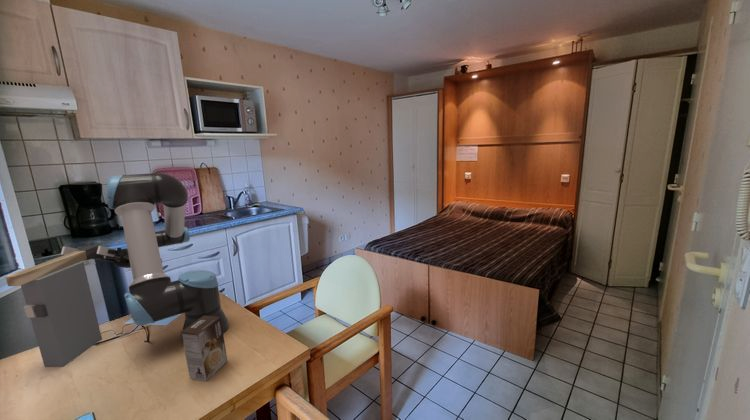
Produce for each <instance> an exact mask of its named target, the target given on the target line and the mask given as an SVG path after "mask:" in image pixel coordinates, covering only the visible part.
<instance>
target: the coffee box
mask: <svg viewBox="0 0 750 420" xmlns="http://www.w3.org/2000/svg"><path fill="white" fill-rule="evenodd" d="M182 330H183V329H182ZM180 335H181V339H182V343H183V349H184V355H185V360H186V364H187V371H188V375H189V379H192V380H199V381H202V382H209V380H210V378H212V377H213V376H214V375H215V374H216V372H218V371H219V370H220V369H221V368H222V366H224V365H225V364H226V363H227V362H228V357H227V351H226V350H227V349H226V343H225V337H224V333H223V329H222V323H221V317H215V316H205V315H204V316H202V317H201V318H200V319H198V320H197V321H195V322H194V323H193V324H191V325H190V326H188V327H187V328H186V329H184V330H183V331H180Z"/></svg>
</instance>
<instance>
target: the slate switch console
mask: <svg viewBox="0 0 750 420" xmlns="http://www.w3.org/2000/svg"><path fill="white" fill-rule="evenodd" d="M20 288H21V291H22V294H23V297H24V302H25V305H24V306H23V310H24V313H25V315H26V318H30V322H31V325H32V328H33V332H34V335H35V339H36V342H37V345H38V348H39V349H38V350H39V352H40V355H41V358H42V363H43V365H44V367H45V368H49V367H50V368H52V367H53V368H58V367H59V368H62V367H63V368H64V367H65V366H66V365H68V364H69V363H70V362H72V361H73V360H74V359H76V358H78V357H80V355H82V354H83V353H85V352H86V351H88V350H89V349H91V348H92V347H94V346H95V344H97V343H98V342H100V341H102V339H103V338H102V333H101V329H100V325H99V320H98V316H97V313H96V309H95V304H94V300H93V296H92V292H91V288H90V283H89V279H88V275H87V272H86V268H85V263H84V261H80V262H78V263H75V264H73V265H70V266H68V267H65V268H63V269H60V270H58V271H55V272H53V273H50V274H48V275H45V276H43V277H40V278H38V279H35V280H33V281H30V282H28V283H25V284H23V285H20ZM77 356H78V357H77Z"/></svg>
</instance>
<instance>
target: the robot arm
mask: <svg viewBox="0 0 750 420" xmlns="http://www.w3.org/2000/svg"><path fill="white" fill-rule="evenodd" d="M106 181H107V182H106V197H107V198H106V200H107V207H108V208H109V209H110V210H114V214H116V215H119V216H120V217H121V222H122V227H123V232H124V238H125V242H126V243H125V244H126V248H122V247H116V248H117V249H116V248H112V247H107V246H103V245H99V246H98V250H97V254H100V255H97V256H95V257H92V258H90V259H89V260H97V261H104V262H105V261H106V262H107V261H108V262H112V263H113V264H114V266H116V267H117V268H118V267H119V268H123V269H130V271H131V275H132V282H131V283H130V284H129V286H128V291H127V292H126V293H124V296H123V297H124V299H125V302H126V305H127V308H128V311H129V313H130V315H131V318H132V322H133V323H134V324H135V325H136V326H138V327H139V326H146V325H149V324H154V323H156V322H158V321H162V320H166V319H168V318H171V317H172V318H173V317H174V316H178V315H181V314H184V322H183V327H182V331H183V330H184V329H186V328H187V327H188V326H190V325H191V324H193V323H194V322H195V321H197V320H198V319H200V318H201V317H202V316H204V315H205V316H215V317H221V323H222V329H223V334H224V333H225V332H227V330H228V329H229V319H228V317H227V316H226V314H225V312H224V310H223V308H222V306H221V300H220V299H221V298H220V292H219V291H220V290H219V283H218V278H217V275H216V274H215V273H214V272H213V271H210V270H206V269H204V270H203V269H202V270H201V269H200V270H199V269H197V270H189V271H186V272H184V273H181V274H180V275H179V276H178V278H177V279H178V280H174V281H172V280H171V277H170V275H168V274H165V271H164V268H163V259H162V257H161V253H160V248H162V247H167V246H174V245H178V244H183V243H187V242H190V238H191V237H190V231H189V228H188V227H187V226H185V223H186V221H185V218H186V217H185V215H186V209H185V208H186V204H187V203H188V201H189V192H188V190H187V187H186V186H185V185H184V184H183V183H182V181H181V180H179V179H178V178H176V177H175V176H173V175H172V174H171V175H170V174H168V173H165V172H164V173H163V172H154V173H153V172H152V173H136V174H121V175H112V176H109V177H108V179H107V180H106ZM158 204H162V205H163V216H164V217H163V218H164V219H163V220H164V228H165V229H163V230H159V231H157V230H156V229H155V226H154V225H155V224H154V221H153V214H152V212H153V211H154V210H155V208H156V206H155V205H158ZM78 249H79V248H75V247H71V246H62V249H61V252H60V255H62V256H64V255H67V254H69V253H72V252H75V251H76V250H78Z"/></svg>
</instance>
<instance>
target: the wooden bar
mask: <svg viewBox="0 0 750 420" xmlns="http://www.w3.org/2000/svg"><path fill="white" fill-rule="evenodd" d="M98 246H100V245H99V244H98V245H92V244H91V245H87V246H85V247H82V248H77V249H78V250H76V251H75V252H72V253H69V254H67V255H62V256H58V257H56V258H53V259H50V260H47V261H44V262H41V263H39V264H36V265H33V266H31V267H27V268H25V269H23V270H19V271H17V272H14V273H11V274H8V275H6V276H5V281H6V284H7V287H21V285H23V284H25V283H28V282H30V281H33V280H35V279H38V278H40V277H43V276H45V275H48V274H50V273H53V272H55V271H58V270H60V269H63V268H65V267H68V266H70V265H73V264H75V263H78V262H84V261H85V260H91V259H90V258H92V257H95V256H97V255H100V254H97V250H98Z"/></svg>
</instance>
